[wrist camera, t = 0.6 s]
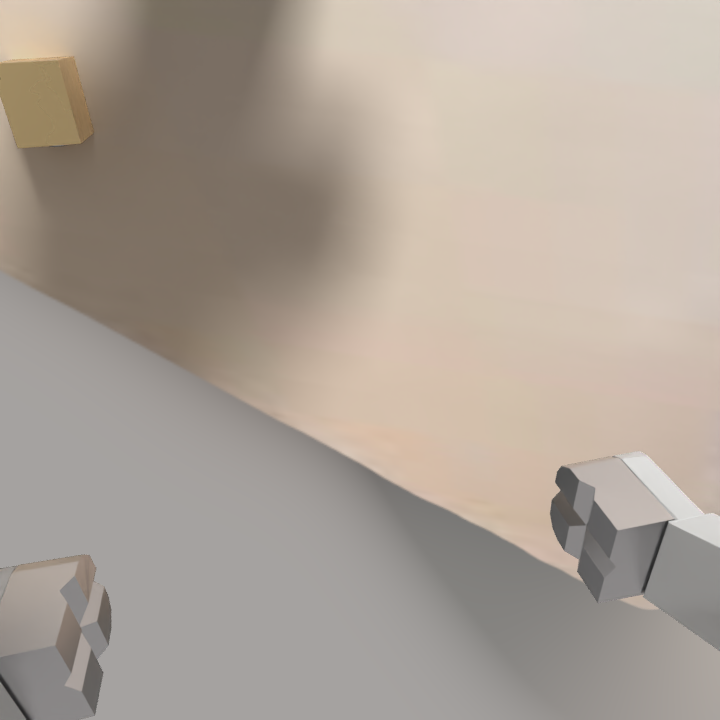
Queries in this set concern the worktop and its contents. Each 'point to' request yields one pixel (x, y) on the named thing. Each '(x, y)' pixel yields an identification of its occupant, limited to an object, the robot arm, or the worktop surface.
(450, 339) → the worktop surface
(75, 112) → the tan short block
